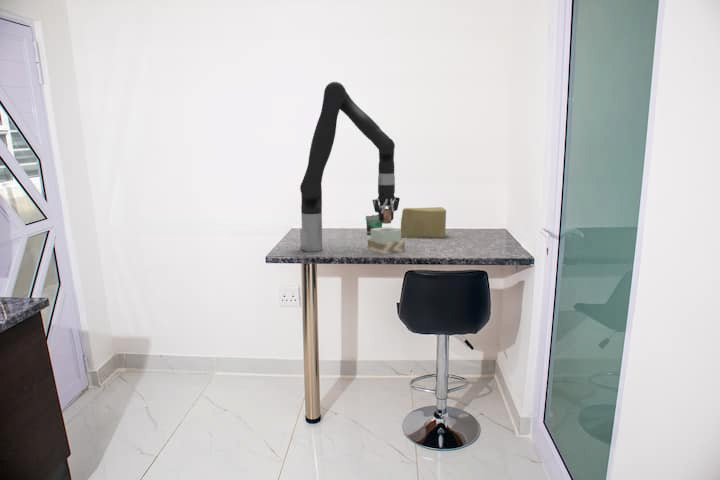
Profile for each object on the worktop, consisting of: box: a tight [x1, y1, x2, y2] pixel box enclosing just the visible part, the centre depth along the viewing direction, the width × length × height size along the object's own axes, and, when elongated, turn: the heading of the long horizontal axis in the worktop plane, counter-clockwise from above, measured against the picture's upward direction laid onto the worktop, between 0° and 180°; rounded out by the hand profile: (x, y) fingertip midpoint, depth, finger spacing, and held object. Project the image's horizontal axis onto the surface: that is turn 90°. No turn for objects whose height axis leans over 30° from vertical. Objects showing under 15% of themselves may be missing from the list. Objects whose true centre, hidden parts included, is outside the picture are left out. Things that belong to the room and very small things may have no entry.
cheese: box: [400, 206, 447, 239], centre depth 258 cm, size 22×10×15 cm, turn 94°
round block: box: [381, 208, 392, 225], centre depth 230 cm, size 5×5×6 cm
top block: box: [370, 226, 402, 244], centre depth 231 cm, size 10×10×5 cm
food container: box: [365, 212, 383, 235], centre depth 267 cm, size 12×6×10 cm, turn 143°
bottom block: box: [367, 238, 406, 256], centre depth 232 cm, size 12×12×5 cm
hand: (386, 220), depth 230 cm, fingers closed on round block, 4 cm apart
